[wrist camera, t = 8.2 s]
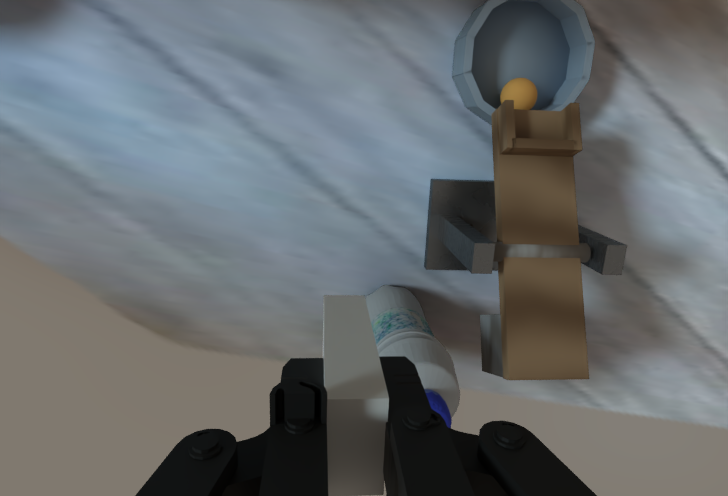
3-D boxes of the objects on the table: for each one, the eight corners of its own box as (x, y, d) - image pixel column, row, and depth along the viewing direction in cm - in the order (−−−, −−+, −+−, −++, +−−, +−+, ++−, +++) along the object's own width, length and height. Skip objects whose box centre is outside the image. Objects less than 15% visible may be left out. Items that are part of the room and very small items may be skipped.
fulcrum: (554, 267, 50) (624, 313, 38) (424, 266, 48) (456, 313, 37) (567, 182, 47) (646, 203, 36) (430, 179, 46) (467, 199, 34)
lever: (556, 370, 43) (611, 381, 35) (471, 370, 42) (507, 383, 34) (542, 141, 46) (589, 103, 38) (463, 138, 45) (494, 99, 37)
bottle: (396, 347, 51) (441, 489, 31) (344, 317, 49) (358, 446, 30) (432, 298, 49) (502, 414, 30) (380, 266, 48) (418, 366, 29)
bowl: (562, 127, 46) (581, 128, 42) (448, 123, 45) (458, 123, 41) (581, -2, 43) (603, -12, 39) (459, -10, 42) (471, -21, 38)
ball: (494, 116, 43) (491, 85, 43) (520, 124, 44) (517, 93, 45) (519, 99, 40) (516, 66, 41) (547, 107, 41) (543, 75, 42)
